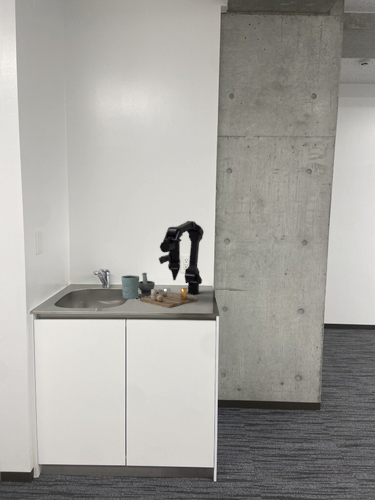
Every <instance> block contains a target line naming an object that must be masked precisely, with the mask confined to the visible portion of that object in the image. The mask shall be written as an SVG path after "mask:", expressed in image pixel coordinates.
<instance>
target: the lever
mask: <svg viewBox="0 0 375 500" xmlns="http://www.w3.org/2000/svg"><path fill="white" fill-rule="evenodd" d="M187 292H188V287H181V288H180V292H179V291H174V290H171V288H169V287H163V288H159V289H158V295H163V296H168V297H173V298H177V299H181V300H187V296H188V295H187V294H188V293H187Z"/></svg>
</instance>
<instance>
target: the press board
mask: <svg viewBox="0 0 375 500" xmlns="http://www.w3.org/2000/svg"><path fill="white" fill-rule="evenodd" d="M157 293H158V289H156V288H154V289H151V294H150V295H149V296H147V297H142V298H139V302H142V303H147V304H151V305H155V306H159V307H164V308H168V309H169V308H174V307H178V306H181V305H186V304H189V303H193V302H197V301H198V298H197V297H192V296H189V295H187V300H181V299H177V298H173V297H168V296H163V295H162V296H163V300H162V301H158V300H157V296H158V295H159V294H157Z"/></svg>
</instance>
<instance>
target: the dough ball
mask: <svg viewBox="0 0 375 500" xmlns="http://www.w3.org/2000/svg"><path fill="white" fill-rule="evenodd" d="M157 295H158V296H157V300H158V301H162V300H163V296H162V295H159V294H157Z"/></svg>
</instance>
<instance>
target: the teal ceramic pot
mask: <svg viewBox="0 0 375 500" xmlns="http://www.w3.org/2000/svg"><path fill="white" fill-rule="evenodd" d="M139 282H140V275H131V274H130V275H127V274H126V275H122V276H121V288H122V298H123V299H125V300H135V299H136V300H137V299H138V298H139Z"/></svg>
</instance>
